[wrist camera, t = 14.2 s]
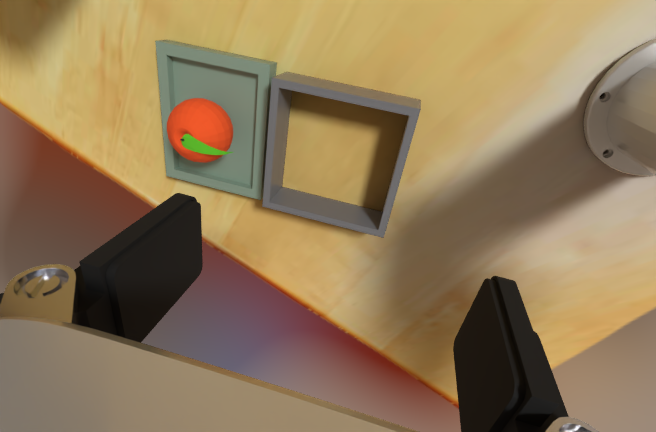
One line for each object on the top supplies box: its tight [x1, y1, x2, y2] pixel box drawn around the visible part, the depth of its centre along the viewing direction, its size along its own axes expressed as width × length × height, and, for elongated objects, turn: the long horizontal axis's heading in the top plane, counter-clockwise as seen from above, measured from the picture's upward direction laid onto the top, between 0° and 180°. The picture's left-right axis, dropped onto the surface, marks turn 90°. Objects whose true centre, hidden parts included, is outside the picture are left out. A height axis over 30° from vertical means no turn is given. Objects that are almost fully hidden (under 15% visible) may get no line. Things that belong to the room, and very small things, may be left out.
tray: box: [156, 40, 277, 200], centre depth 42 cm, size 13×16×2 cm
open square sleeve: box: [262, 72, 421, 238], centre depth 40 cm, size 15×15×4 cm
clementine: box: [167, 98, 233, 163], centre depth 39 cm, size 8×7×7 cm
